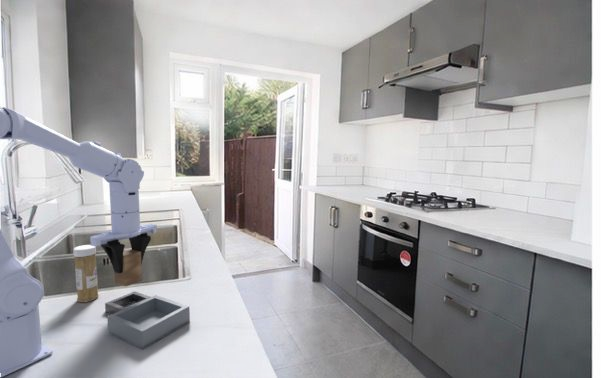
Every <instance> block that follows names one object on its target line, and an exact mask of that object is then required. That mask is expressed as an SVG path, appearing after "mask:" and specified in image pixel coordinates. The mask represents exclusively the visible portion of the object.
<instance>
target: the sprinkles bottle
mask: <svg viewBox="0 0 601 378" xmlns="http://www.w3.org/2000/svg"><path fill="white" fill-rule="evenodd" d="M96 253H97V247H95V246H91V244H85V245H83V244H82V245H79V246H76V247H74V248H73V253H72V254H73V257H74V265H75V268H74V272H75V283H76V284H75V285H76V286H75V288H76V293H77V298H76V300H77V302H79V303H88V302H89V303H90V302H92V301H94V300H96V299H97V298H99V295H100V294H99V291H98V289H99V288H98V271H97V270H98V269H97V268H98V267H97V261H96V260H97V259H96V255H97V254H96Z"/></svg>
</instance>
